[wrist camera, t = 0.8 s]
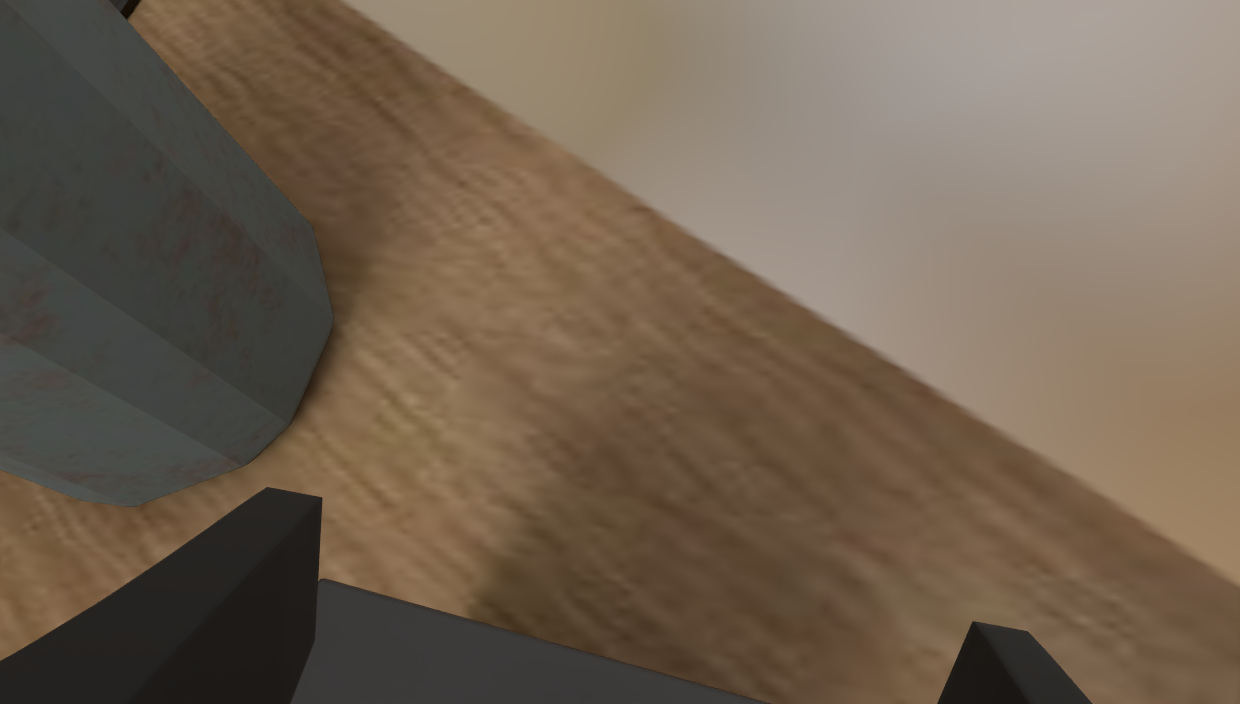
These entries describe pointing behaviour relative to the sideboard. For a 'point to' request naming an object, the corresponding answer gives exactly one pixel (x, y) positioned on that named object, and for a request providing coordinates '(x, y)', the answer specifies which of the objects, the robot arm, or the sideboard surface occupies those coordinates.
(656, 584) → the sideboard surface
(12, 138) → the bottle
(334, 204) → the sideboard surface
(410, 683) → the clock
